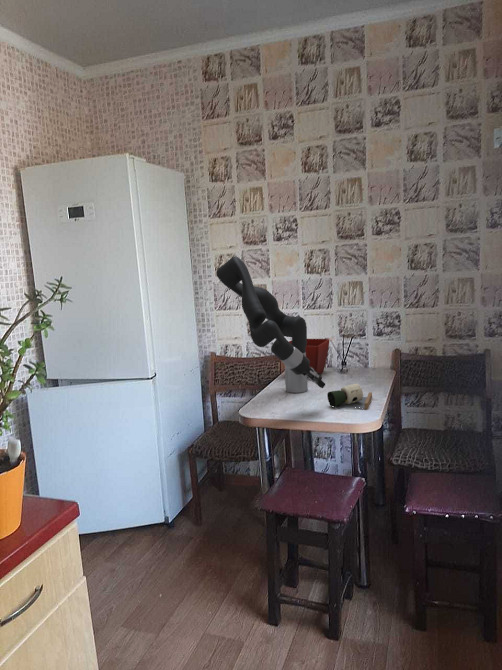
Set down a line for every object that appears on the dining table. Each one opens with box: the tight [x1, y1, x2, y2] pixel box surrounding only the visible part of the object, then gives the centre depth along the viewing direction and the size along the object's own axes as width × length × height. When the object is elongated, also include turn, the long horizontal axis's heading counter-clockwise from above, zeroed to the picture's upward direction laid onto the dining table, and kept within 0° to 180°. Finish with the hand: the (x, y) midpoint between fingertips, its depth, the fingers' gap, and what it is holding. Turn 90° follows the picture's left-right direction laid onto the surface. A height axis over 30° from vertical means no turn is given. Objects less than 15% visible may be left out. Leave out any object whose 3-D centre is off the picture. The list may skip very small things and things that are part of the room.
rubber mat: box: [335, 391, 373, 410], centre depth 214 cm, size 12×16×2 cm
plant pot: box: [288, 338, 330, 375], centre depth 267 cm, size 19×19×17 cm
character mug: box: [326, 383, 364, 408], centre depth 212 cm, size 11×7×13 cm
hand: (323, 385), depth 208 cm, fingers closed
